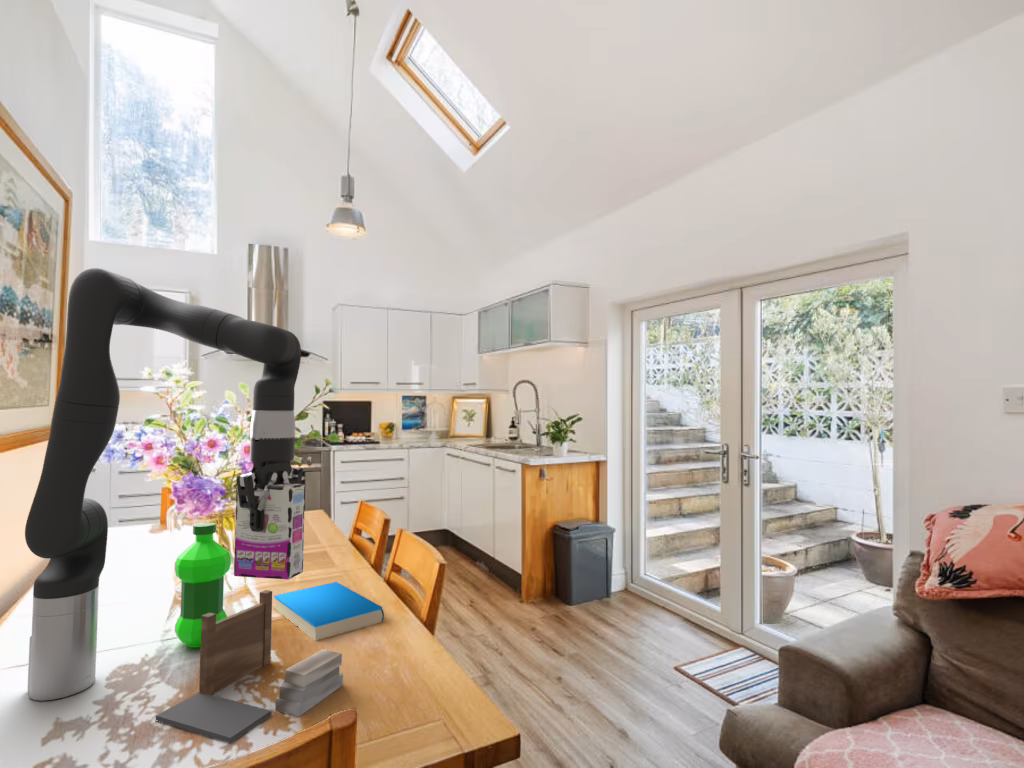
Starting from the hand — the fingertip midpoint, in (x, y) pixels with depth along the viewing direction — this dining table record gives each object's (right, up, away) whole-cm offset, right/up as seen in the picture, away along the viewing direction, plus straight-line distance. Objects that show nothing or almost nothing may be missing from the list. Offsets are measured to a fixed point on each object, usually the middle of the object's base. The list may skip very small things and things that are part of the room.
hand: (270, 527), depth 101 cm
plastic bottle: (-22, -29, +17) cm, 40 cm away
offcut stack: (+9, -28, -5) cm, 30 cm away
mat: (-4, -28, -11) cm, 31 cm away
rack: (-7, -29, +1) cm, 29 cm away
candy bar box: (0, -9, 0) cm, 9 cm away
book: (-1, -31, +33) cm, 45 cm away
